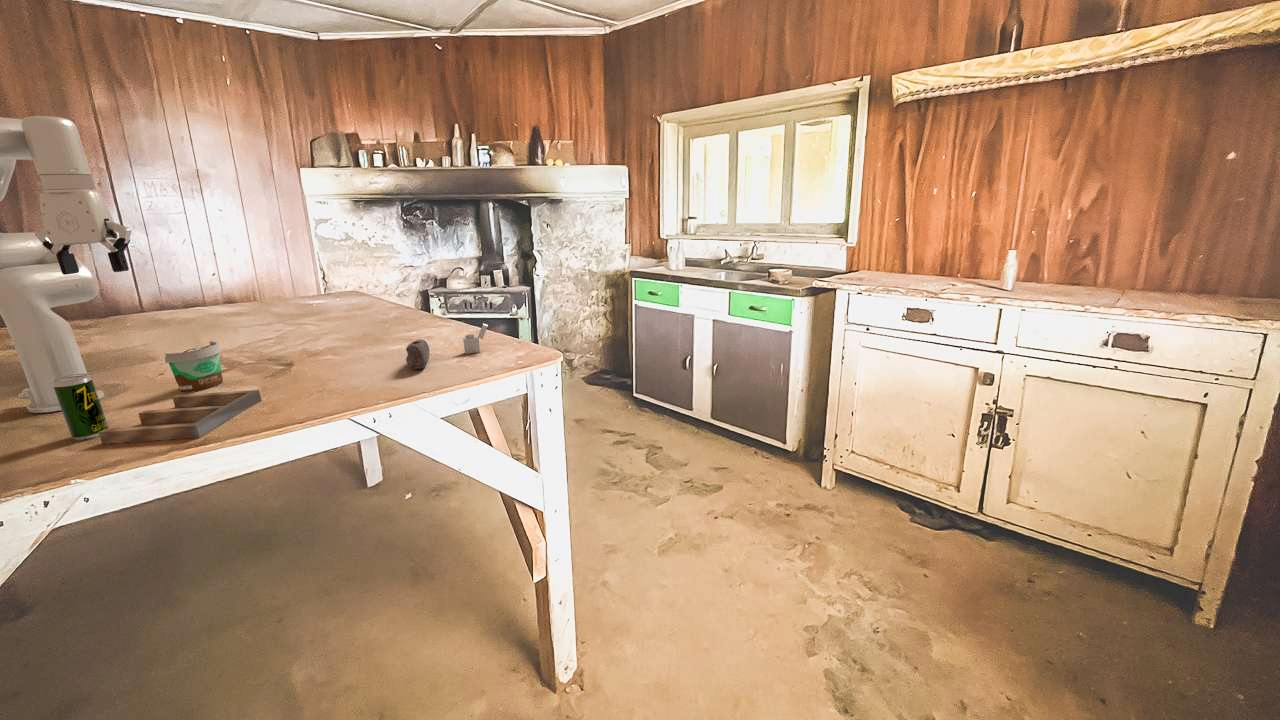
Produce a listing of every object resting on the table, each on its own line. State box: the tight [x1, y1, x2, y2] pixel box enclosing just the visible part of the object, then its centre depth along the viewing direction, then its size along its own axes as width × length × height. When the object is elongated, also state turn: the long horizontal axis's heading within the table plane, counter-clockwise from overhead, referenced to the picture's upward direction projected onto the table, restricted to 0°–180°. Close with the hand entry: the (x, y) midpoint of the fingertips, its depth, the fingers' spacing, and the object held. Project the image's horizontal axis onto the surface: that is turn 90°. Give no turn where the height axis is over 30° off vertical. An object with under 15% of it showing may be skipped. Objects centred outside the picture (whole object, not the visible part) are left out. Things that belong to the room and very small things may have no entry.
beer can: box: [53, 373, 110, 441], centre depth 107 cm, size 5×5×12 cm
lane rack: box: [98, 389, 262, 445], centre depth 114 cm, size 18×20×2 cm
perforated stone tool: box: [405, 338, 430, 370], centre depth 147 cm, size 15×5×7 cm, turn 11°
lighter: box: [462, 322, 489, 355], centre depth 157 cm, size 7×2×8 cm, turn 106°
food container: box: [164, 341, 224, 393], centre depth 135 cm, size 12×6×10 cm, turn 168°
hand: (96, 272), depth 113 cm, fingers open, 9 cm apart
